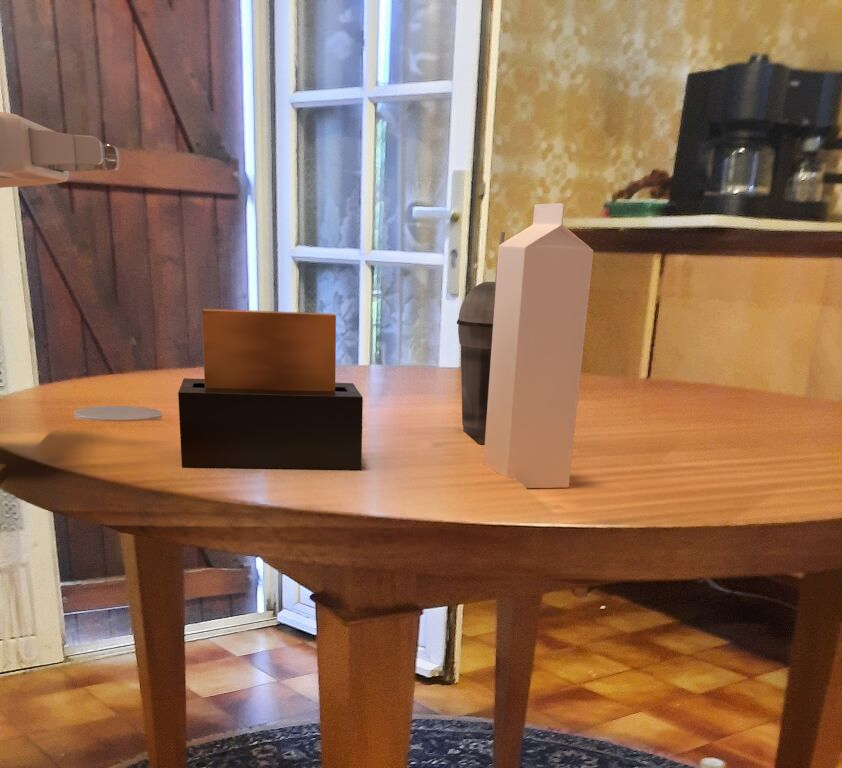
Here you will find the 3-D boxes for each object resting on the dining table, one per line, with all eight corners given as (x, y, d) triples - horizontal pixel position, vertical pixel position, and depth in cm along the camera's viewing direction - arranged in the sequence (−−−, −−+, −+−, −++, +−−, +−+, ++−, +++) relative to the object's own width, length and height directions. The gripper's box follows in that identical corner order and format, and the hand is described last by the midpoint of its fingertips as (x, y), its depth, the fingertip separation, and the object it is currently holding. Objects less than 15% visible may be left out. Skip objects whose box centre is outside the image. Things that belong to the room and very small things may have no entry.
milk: (505, 489, 92) (527, 201, 82) (481, 475, 97) (499, 202, 87) (570, 488, 93) (599, 205, 84) (543, 473, 98) (567, 205, 89)
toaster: (182, 479, 89) (177, 391, 86) (187, 458, 97) (183, 378, 94) (361, 481, 92) (362, 396, 88) (351, 461, 100) (352, 383, 96)
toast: (207, 459, 92) (201, 309, 87) (208, 455, 94) (202, 308, 89) (334, 461, 94) (336, 314, 89) (333, 458, 95) (334, 313, 90)
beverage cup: (440, 442, 111) (451, 229, 103) (463, 432, 118) (476, 230, 109) (506, 449, 109) (523, 232, 100) (527, 439, 115) (544, 234, 107)
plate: (78, 431, 107) (77, 419, 107) (71, 417, 115) (70, 406, 114) (169, 430, 110) (168, 418, 110) (156, 416, 118) (155, 405, 117)
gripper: (-134, 79, 69) (85, 92, 71) (-51, 109, 88) (122, 118, 89) (-117, 188, 72) (94, 198, 74) (-39, 195, 90) (128, 203, 92)
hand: (110, 155), depth 82 cm, fingers open, 8 cm apart
